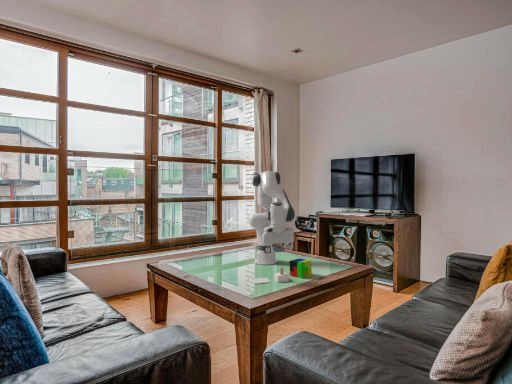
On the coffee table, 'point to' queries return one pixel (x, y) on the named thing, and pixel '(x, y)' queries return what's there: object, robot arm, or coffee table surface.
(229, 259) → the coffee table surface
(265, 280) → the coaster
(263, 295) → the coffee table surface
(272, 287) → the coffee table surface
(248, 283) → the coffee table surface
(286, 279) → the peg stand
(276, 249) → the ring
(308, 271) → the puzzle toy
